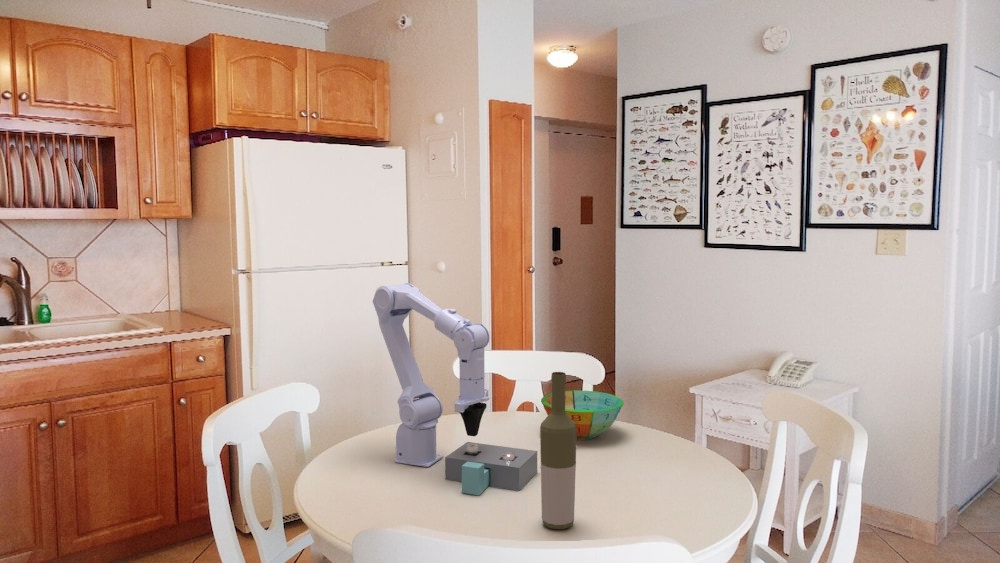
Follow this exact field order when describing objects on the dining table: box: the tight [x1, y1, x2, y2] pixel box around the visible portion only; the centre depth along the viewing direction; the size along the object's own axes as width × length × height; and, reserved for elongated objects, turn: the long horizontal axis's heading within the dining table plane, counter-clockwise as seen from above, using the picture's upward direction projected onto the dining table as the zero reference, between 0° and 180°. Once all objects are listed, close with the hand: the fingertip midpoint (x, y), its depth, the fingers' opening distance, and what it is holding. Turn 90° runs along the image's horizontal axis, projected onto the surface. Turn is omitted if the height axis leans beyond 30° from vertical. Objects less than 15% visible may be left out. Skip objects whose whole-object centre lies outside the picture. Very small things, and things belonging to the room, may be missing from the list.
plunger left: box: [466, 442, 478, 456], centre depth 165 cm, size 3×3×3 cm
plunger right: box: [502, 452, 515, 461], centre depth 162 cm, size 3×3×3 cm
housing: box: [444, 441, 538, 492], centre depth 165 cm, size 18×12×5 cm, turn 68°
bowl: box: [540, 390, 625, 441], centre depth 194 cm, size 22×22×10 cm
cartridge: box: [461, 461, 491, 496], centre depth 160 cm, size 4×15×6 cm, turn 158°
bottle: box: [539, 371, 577, 530], centre depth 138 cm, size 7×7×30 cm
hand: (472, 435), depth 165 cm, fingers closed
